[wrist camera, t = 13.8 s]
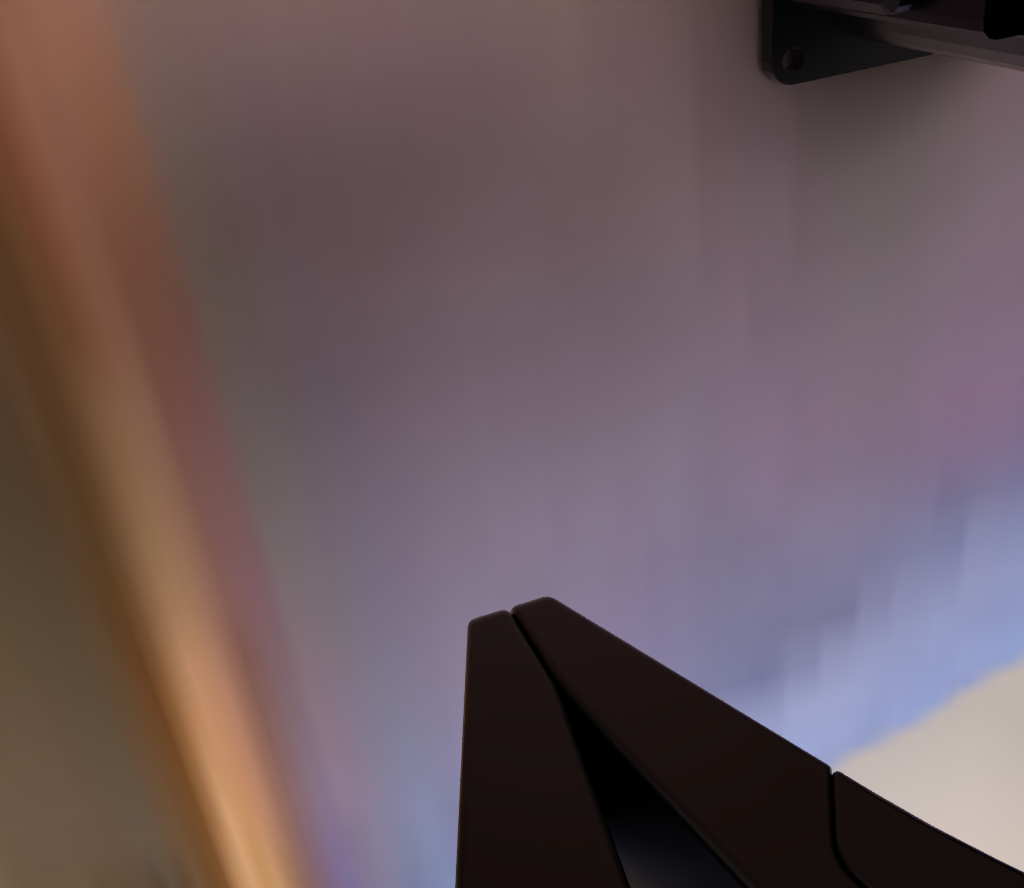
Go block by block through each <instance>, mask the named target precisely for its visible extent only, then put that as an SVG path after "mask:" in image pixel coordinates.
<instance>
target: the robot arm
mask: <svg viewBox="0 0 1024 888" xmlns="http://www.w3.org/2000/svg"><path fill="white" fill-rule="evenodd" d="M791 47H792V49H793V54H794V55H793V59H792V62H791V63H790V65H789V66H788V67H787V68H785V69H784V68H783V63H782V60H783V56H784V54H785V52H786V51H787V50H788V49H789V48H791ZM931 54H940V55H945V56H950V57H955V58H960V59H965V60H970V61H975V62H980V63H985V64H990V65H995V66H1000V67H1005V68H1010V69H1015V70H1020V71H1024V0H762V58H761V61H762V68H763V71H764V73H765V74H766V76H767V78H769V79H771V80H773V81H774V82H778V83H781V84H786V85H793V84H798V83H802V82H807V81H811V80H816V79H821V78H825V77H830V76H834V75H839V74H844V73H848V72H853V71H857V70H862V69H867V68H871V67H876V66H880V65H885V64H890V63H894V62H899V61H903V60H908V59H913V58H917V57H922V56H926V55H931ZM455 888H1024V872H1022V871H1020V870H1018V869H1016V868H1014V867H1012V866H1010V865H1008V864H1006V863H1004V862H1002V861H1000V860H997V859H995V858H994V857H992V856H990V855H988V854H986V853H984V852H982V851H980V850H978V849H976V848H974V847H972V846H970V845H968V844H966V843H964V842H962V841H960V840H958V839H957V838H955V837H953V836H951V835H949V834H947V833H945V832H943V831H941V830H939V829H937V828H935V827H933V826H931V825H930V824H928V823H926V822H924V821H923V820H921V819H919V818H917V817H915V816H914V815H912V814H910V813H909V812H907V811H905V810H904V809H902V808H900V807H898V806H896V805H895V804H893V803H891V802H890V801H888V800H886V799H884V798H883V797H881V796H879V795H877V794H876V793H874V792H872V791H871V790H869V789H867V788H866V787H864V786H862V785H861V784H859V783H857V782H856V781H854V780H852V779H851V778H849V777H848V776H846V775H844V774H843V773H841V772H839V771H836V772H834V773H833V774H832V769H831V767H830V766H829V765H827V764H826V763H824V762H822V761H821V760H819V759H817V758H816V757H814V756H812V755H811V754H809V753H807V752H806V751H804V750H803V749H801V748H799V747H798V746H796V745H794V744H793V743H791V742H789V741H788V740H786V739H784V738H783V737H781V736H779V735H778V734H776V733H775V732H773V731H771V730H770V729H768V728H766V727H765V726H763V725H761V724H760V723H758V722H756V721H755V720H753V719H751V718H750V717H748V716H747V715H745V714H743V713H742V712H740V711H738V710H737V709H735V708H733V707H732V706H730V705H728V704H727V703H725V702H724V701H722V700H720V699H719V698H717V697H715V696H714V695H712V694H710V693H709V692H707V691H705V690H704V689H702V688H700V687H699V686H697V685H696V684H694V683H692V682H691V681H689V680H687V679H686V678H684V677H682V676H681V675H679V674H677V673H676V672H674V671H673V670H671V669H669V668H668V667H666V666H664V665H663V664H661V663H659V662H658V661H656V660H654V659H653V658H651V657H649V656H648V655H646V654H645V653H643V652H641V651H640V650H638V649H636V648H635V647H633V646H631V645H630V644H628V643H626V642H625V641H623V640H622V639H620V638H618V637H617V636H615V635H613V634H612V633H610V632H608V631H607V630H605V629H603V628H602V627H600V626H598V625H597V624H595V623H594V622H592V621H590V620H589V619H587V618H585V617H584V616H582V615H580V614H579V613H577V612H575V611H574V610H572V609H571V608H569V607H567V606H566V605H564V604H562V603H561V602H559V601H557V600H556V599H554V598H551V597H542V598H539V599H536V600H532V601H529V602H526V603H523V604H520V605H516V606H515V607H513V609H512V610H511V613H509V612H508V611H505V610H501V611H497V612H494V613H491V614H488V615H485V616H481V617H478V618H475V619H473V620H471V621H470V622H469V625H468V633H467V654H466V675H465V696H464V717H463V737H462V758H461V779H460V800H459V821H458V842H457V863H456V883H455Z"/></svg>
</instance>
